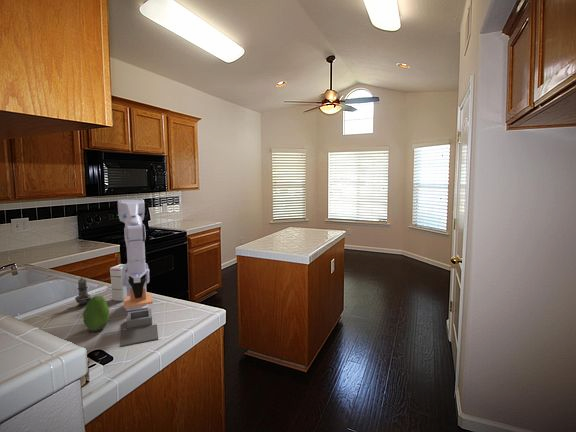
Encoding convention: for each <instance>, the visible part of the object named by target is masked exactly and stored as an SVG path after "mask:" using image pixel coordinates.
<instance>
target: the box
mask: <svg viewBox="0 0 576 432" xmlns="http://www.w3.org/2000/svg"><path fill="white" fill-rule="evenodd" d="M152 314H153V313H152V308H146V309H139V310H132V311H127V317H126V329H131V328H137V327H142V326H148V325H153V315H152Z"/></svg>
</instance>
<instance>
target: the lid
mask: <svg viewBox="0 0 576 432" xmlns="http://www.w3.org/2000/svg"><path fill="white" fill-rule="evenodd" d="M146 293H147V286H146V287H145V286H144V287H143V293H142V298H135V296H134V293H133V289H132V288H130V296H126V297H125V300H124V301H123V309H126V308H128V307H130V308H133V307H140V306H146V305H148V306H149V305H152V304H154V303H153V293H152V292H149V293H147V294H146Z"/></svg>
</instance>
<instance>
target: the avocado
mask: <svg viewBox="0 0 576 432" xmlns="http://www.w3.org/2000/svg"><path fill="white" fill-rule="evenodd" d="M84 308H85V309H84V312H83V315H82V319H83V323H84V325H85V327H86V328H87V329H88V330H90V331H91V332H92V331H95V332H96V331H101V330H102V329H104V328H105V327H106V326H107V325H108V323H109V320H110V308H109V306H108V303H107V301H106V300H105V298H104V296H102V295H96V296H92V297H91V299H90V300H89V302H88V304H87V306H86V307H84Z"/></svg>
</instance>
